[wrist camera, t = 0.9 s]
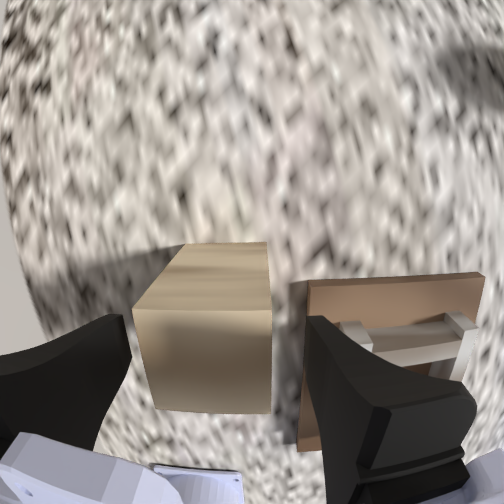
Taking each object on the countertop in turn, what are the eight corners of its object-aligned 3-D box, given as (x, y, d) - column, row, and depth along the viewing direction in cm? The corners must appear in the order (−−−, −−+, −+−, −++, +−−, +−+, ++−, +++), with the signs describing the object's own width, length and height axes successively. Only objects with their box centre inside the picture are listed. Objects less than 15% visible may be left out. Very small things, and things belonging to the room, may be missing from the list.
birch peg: (267, 316, 18) (271, 413, 11) (192, 315, 18) (155, 409, 11) (266, 242, 17) (271, 310, 9) (185, 243, 17) (131, 308, 9)
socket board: (430, 422, 21) (444, 449, 18) (296, 443, 21) (299, 476, 18) (477, 271, 17) (507, 291, 14) (308, 280, 18) (318, 307, 14)
